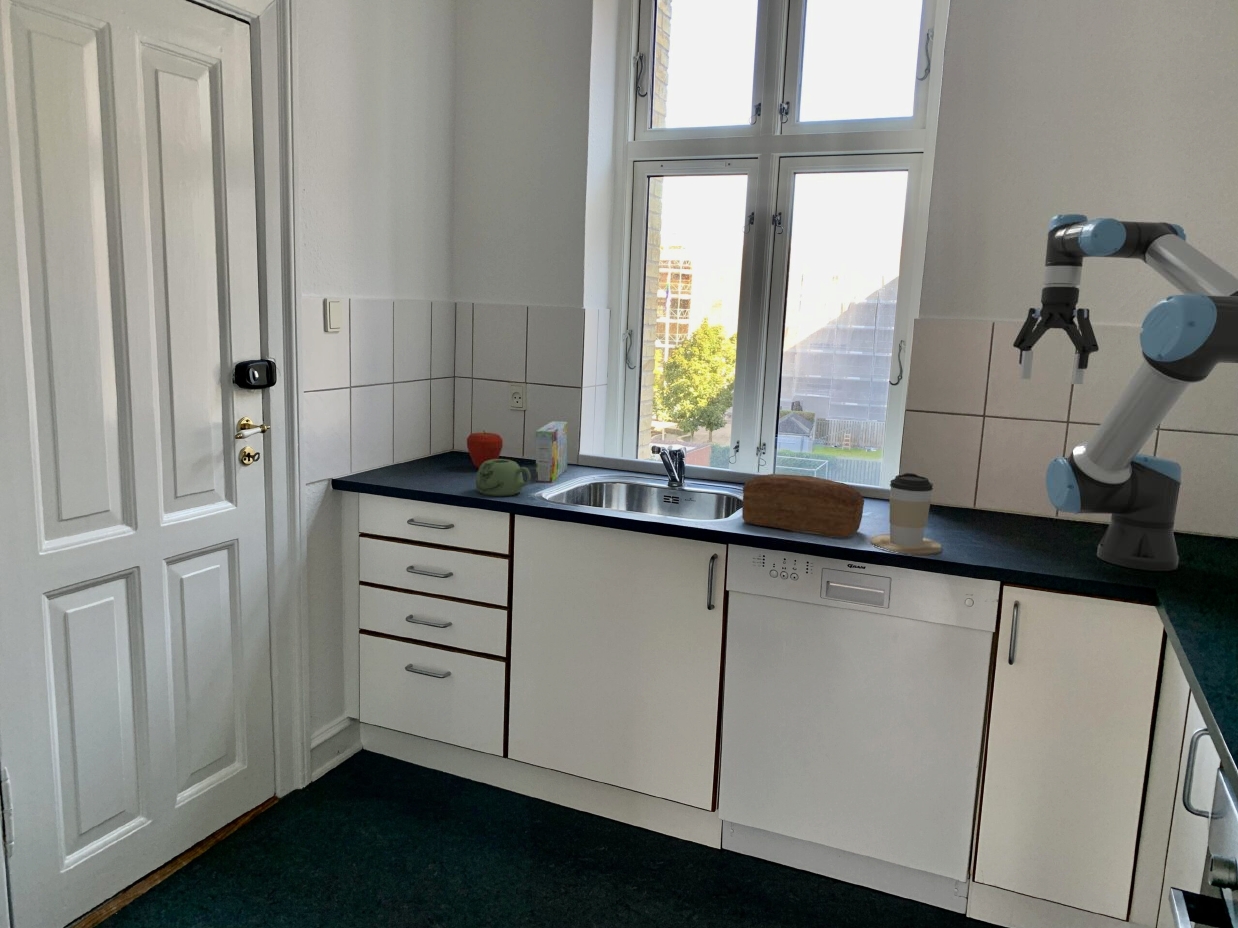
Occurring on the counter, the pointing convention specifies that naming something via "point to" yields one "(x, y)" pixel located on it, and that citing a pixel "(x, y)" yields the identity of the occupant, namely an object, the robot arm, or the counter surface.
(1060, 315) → the robot arm
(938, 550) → the coaster
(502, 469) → the mug
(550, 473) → the snack box
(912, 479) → the coffee cup
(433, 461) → the counter surface
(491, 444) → the apple
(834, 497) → the bread
